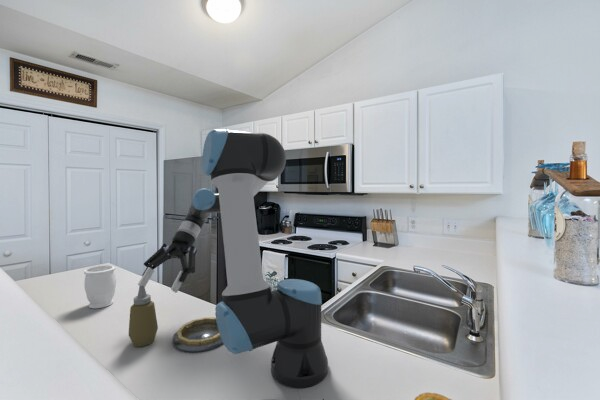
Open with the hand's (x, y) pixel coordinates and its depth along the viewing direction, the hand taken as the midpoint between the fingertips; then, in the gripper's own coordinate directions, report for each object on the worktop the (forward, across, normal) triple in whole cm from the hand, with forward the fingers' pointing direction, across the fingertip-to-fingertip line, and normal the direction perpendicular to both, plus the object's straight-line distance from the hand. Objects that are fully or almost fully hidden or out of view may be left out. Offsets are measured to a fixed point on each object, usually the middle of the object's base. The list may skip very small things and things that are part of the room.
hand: (156, 288), depth 94 cm
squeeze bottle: (+15, -1, -6) cm, 16 cm away
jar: (+4, +38, -17) cm, 42 cm away
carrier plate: (+9, -16, -11) cm, 22 cm away
